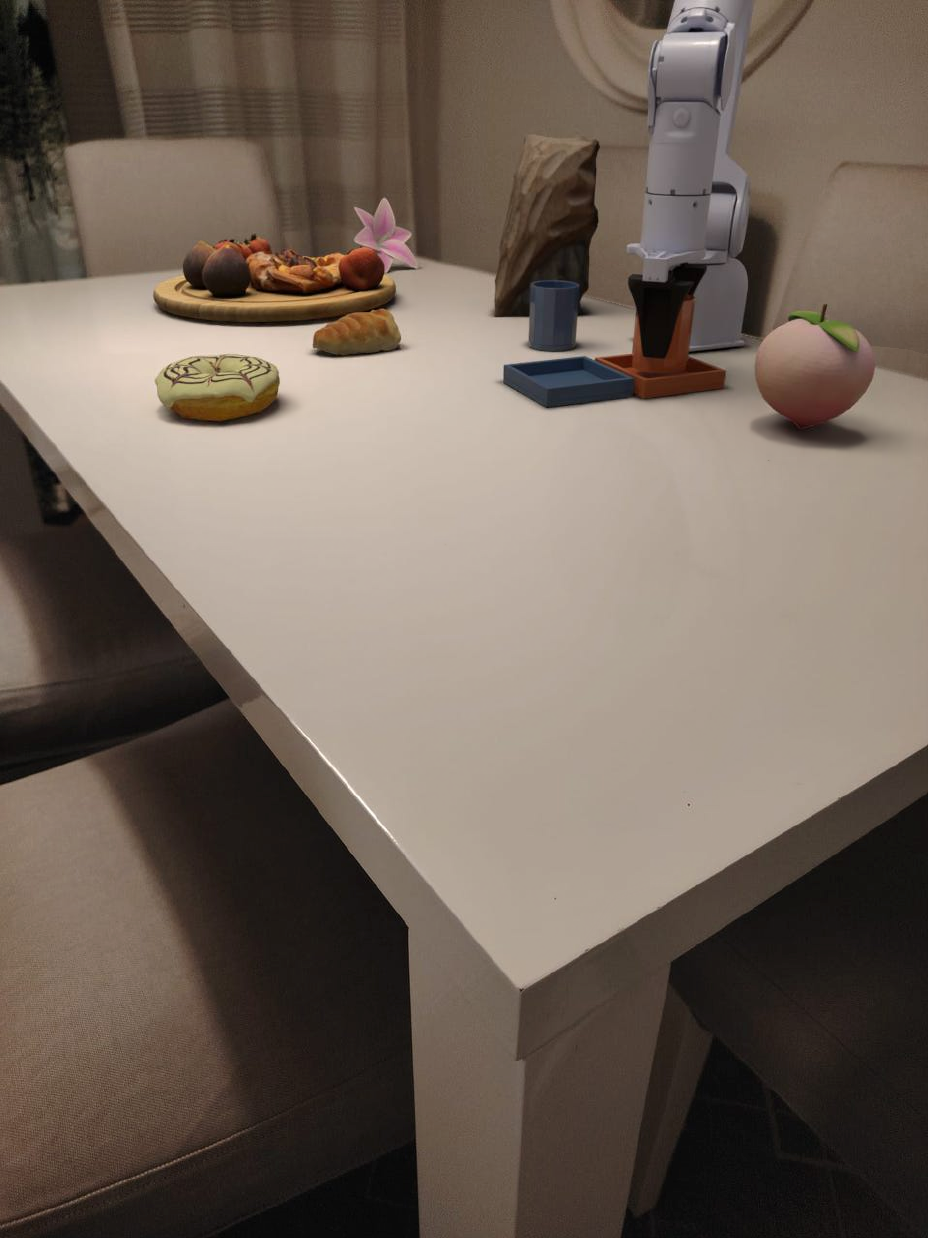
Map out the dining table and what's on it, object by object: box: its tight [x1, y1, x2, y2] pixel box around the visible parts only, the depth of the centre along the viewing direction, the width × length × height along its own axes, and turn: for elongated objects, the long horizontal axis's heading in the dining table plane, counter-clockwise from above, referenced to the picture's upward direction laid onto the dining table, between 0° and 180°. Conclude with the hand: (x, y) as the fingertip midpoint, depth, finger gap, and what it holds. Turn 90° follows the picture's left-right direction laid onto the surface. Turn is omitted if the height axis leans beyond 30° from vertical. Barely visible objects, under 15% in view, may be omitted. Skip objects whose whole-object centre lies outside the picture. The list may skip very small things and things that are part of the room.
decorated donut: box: [154, 353, 281, 422], centre depth 79 cm, size 10×11×4 cm
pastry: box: [312, 308, 402, 356], centre depth 98 cm, size 9×7×4 cm
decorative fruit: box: [754, 303, 876, 429], centre depth 73 cm, size 9×8×10 cm
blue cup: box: [527, 280, 579, 352], centre depth 99 cm, size 5×5×6 cm
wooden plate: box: [152, 233, 397, 323], centre depth 120 cm, size 32×32×8 cm
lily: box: [353, 197, 419, 274], centre depth 145 cm, size 12×12×10 cm
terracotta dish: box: [594, 353, 727, 399], centre depth 88 cm, size 9×9×2 cm
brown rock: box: [493, 133, 601, 317], centre depth 114 cm, size 13×13×20 cm
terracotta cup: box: [631, 294, 696, 374], centre depth 86 cm, size 5×5×6 cm
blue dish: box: [502, 355, 634, 408], centre depth 85 cm, size 9×9×2 cm
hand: (660, 349), depth 87 cm, fingers closed on terracotta cup, 5 cm apart
